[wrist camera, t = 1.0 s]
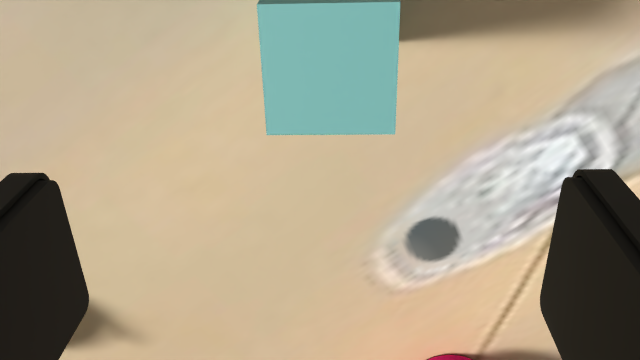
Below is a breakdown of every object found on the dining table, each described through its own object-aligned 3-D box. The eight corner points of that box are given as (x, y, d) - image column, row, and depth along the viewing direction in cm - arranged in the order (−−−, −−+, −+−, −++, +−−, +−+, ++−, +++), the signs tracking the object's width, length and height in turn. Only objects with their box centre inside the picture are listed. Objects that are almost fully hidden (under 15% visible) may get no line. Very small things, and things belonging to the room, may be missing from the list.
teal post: (380, -48, 29) (400, 1, 18) (378, 43, 31) (395, 134, 21) (289, -46, 29) (257, 4, 19) (293, 44, 31) (266, 135, 21)
